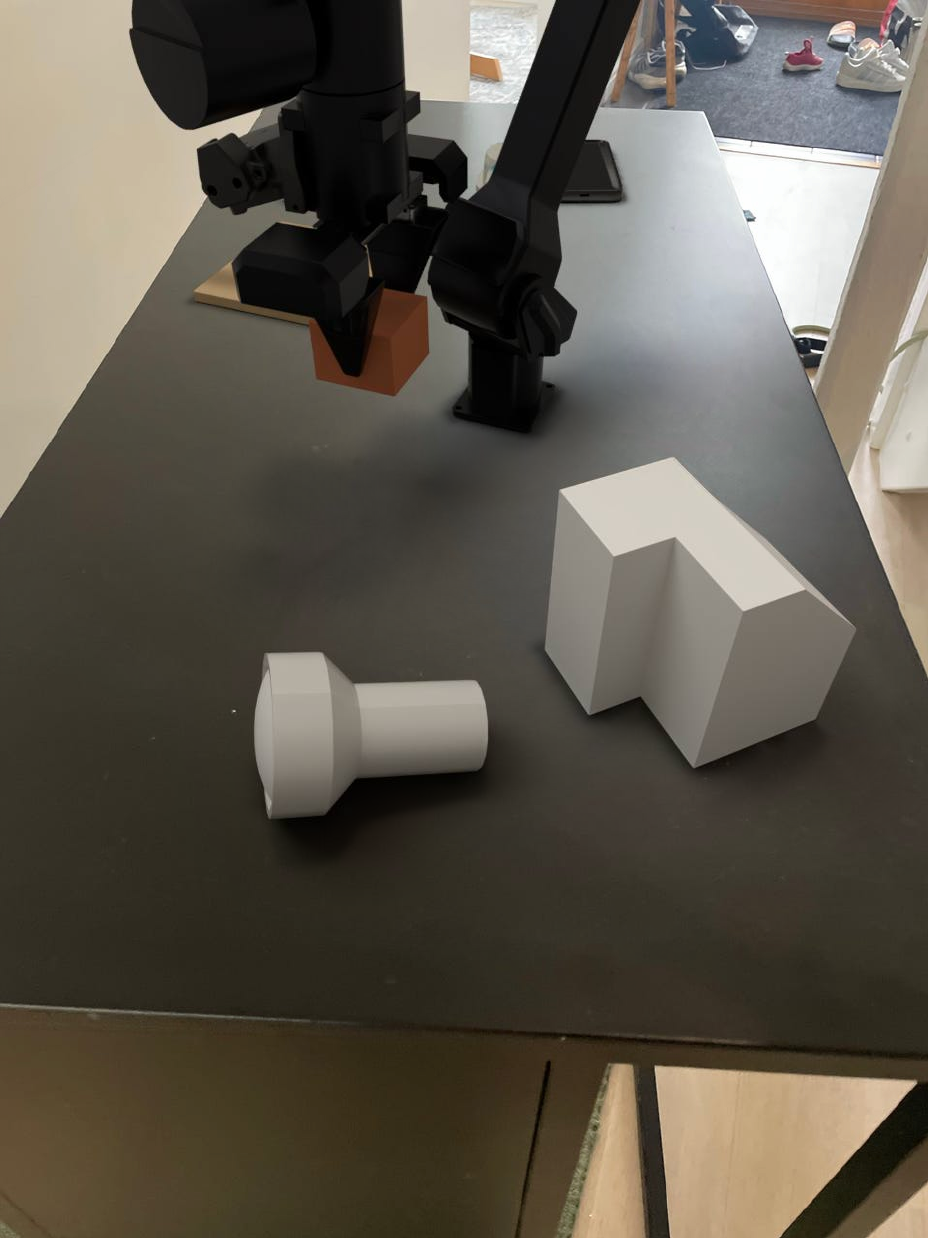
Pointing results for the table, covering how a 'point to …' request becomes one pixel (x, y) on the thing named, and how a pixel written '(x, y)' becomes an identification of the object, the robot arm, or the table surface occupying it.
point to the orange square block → (382, 346)
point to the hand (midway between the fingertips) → (372, 351)
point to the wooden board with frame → (225, 295)
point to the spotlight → (356, 731)
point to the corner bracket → (685, 613)
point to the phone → (594, 175)
